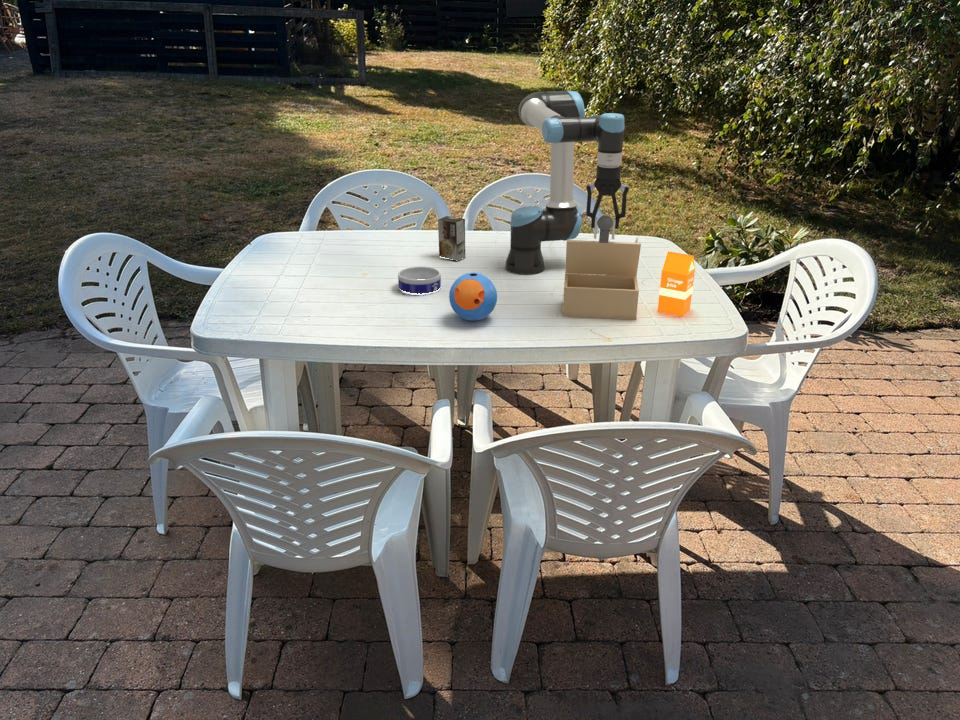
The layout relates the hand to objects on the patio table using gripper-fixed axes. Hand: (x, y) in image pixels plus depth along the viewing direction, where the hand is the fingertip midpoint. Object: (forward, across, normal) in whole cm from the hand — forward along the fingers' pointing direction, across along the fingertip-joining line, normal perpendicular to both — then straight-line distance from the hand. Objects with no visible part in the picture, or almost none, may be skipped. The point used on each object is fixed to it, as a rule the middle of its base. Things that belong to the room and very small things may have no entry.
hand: (604, 237), depth 251 cm
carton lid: (+4, 0, 0) cm, 4 cm away
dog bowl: (+25, -64, +11) cm, 70 cm away
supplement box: (+25, +8, +26) cm, 37 cm away
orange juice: (+25, +25, +2) cm, 35 cm away
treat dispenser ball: (+25, -41, -15) cm, 50 cm away
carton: (+25, 0, -2) cm, 25 cm away
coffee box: (+24, -58, +47) cm, 79 cm away
